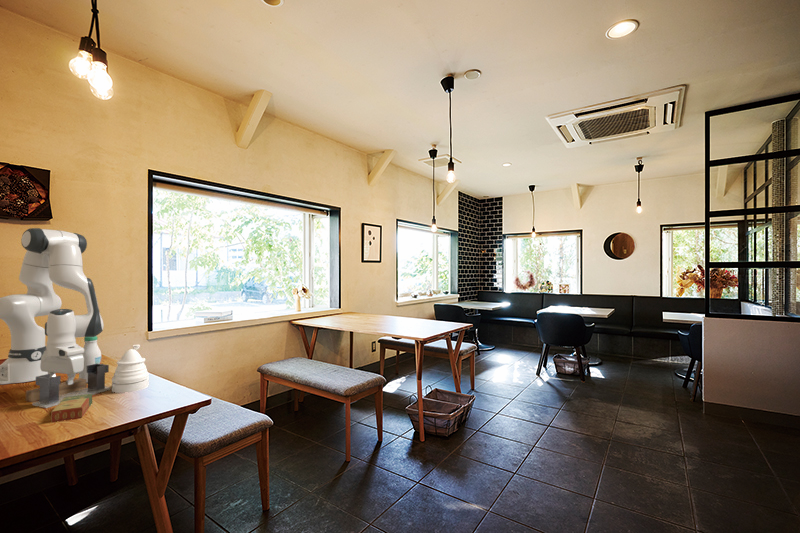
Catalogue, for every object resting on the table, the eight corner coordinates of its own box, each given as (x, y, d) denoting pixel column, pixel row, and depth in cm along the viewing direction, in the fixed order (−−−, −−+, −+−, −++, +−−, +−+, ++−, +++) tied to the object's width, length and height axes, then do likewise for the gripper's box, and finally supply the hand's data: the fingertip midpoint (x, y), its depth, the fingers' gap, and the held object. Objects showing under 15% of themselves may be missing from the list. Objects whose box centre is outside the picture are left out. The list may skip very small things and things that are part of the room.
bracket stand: (32, 405, 137) (32, 377, 137) (97, 387, 158) (97, 362, 158) (46, 408, 134) (46, 379, 134) (110, 389, 155) (110, 364, 155)
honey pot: (139, 381, 166) (140, 341, 167) (154, 386, 160) (155, 345, 160) (105, 389, 155) (106, 347, 155) (120, 395, 149) (121, 350, 149)
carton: (50, 424, 122) (50, 411, 122) (63, 408, 136) (63, 396, 136) (82, 418, 126) (82, 406, 126) (92, 403, 140) (92, 392, 140)
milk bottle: (88, 384, 162) (89, 338, 162) (74, 382, 164) (75, 337, 164) (105, 378, 170) (106, 335, 170) (91, 377, 171) (92, 334, 171)
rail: (25, 401, 142) (25, 391, 142) (80, 387, 158) (80, 378, 158) (31, 402, 140) (31, 392, 140) (86, 388, 157) (86, 379, 157)
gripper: (35, 349, 150) (35, 383, 150) (69, 352, 144) (69, 387, 144) (53, 346, 156) (53, 379, 156) (87, 349, 150) (87, 383, 150)
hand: (61, 383), depth 150 cm, fingers open, 8 cm apart
